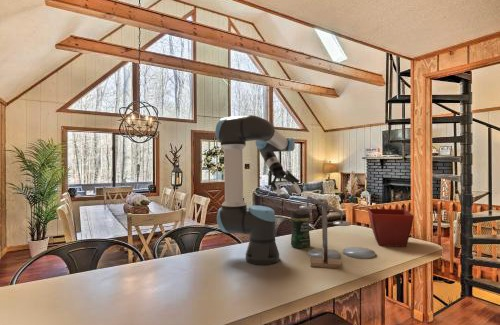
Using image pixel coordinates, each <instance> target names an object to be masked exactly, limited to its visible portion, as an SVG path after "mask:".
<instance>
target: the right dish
mask: <svg viewBox="0 0 500 325" xmlns="http://www.w3.org/2000/svg"><path fill="white" fill-rule="evenodd" d="M342 254H343V255H345V256H347V257H350V258H354V259H372V258H374V257H376V252H375V251H374V250H373V249H371V248H366V247H362V246H361V247H359V246H349V247H348V246H347V247H344V248H343V249H342Z"/></svg>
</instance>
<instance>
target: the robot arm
mask: <svg viewBox="0 0 500 325" xmlns="http://www.w3.org/2000/svg"><path fill="white" fill-rule="evenodd" d="M214 134H215V137H216V141H217V142H219V143H220V147H222V149H223V155H224V156H223V160H224V162H223V163H224V166H223V169H224V201H223V202H222V204H221V207H220V208H218V211H217V214H216V223H217V227H218V228H219V230H220V231H222V232H223V233H228V234H230V235H231V234H235V235H237V234H238V235H246V236H247V235H248V238H249V240H248V242H249V243H248V245H247V248H246V252H245V261H246V263H249V264H251V265H252V264H253V265H258V266H264V265H265V266H268V265H273V264H277V263H278V262H280V260H281V259H280V258H281V257H280V252H279V249H278V246H277V244H276V214H275V210H274V209H273V208H271V207H268V206H264V205H256V204H255V205H254V204H253V205H249V206H247V203H246V202H245V201H244V174H243V172H244V170H243V164H244V163H243V162H244V161H243V157H244V156H243V155H244V154H243V149H244V148H245V147H246V145H247V144H246V142H252V141H255V146H256V148H257V150H258V152H259V153H260V155H261V157H262V158H263V160H264V162H265V164H266V166H267V168H268V170H269V171H268V172H267V176H268V178H267V186H268V187H269V186H270V187H271V188H272V189H273V190H274V191H275V193H276V194H277V196H278V197H279V196H281V194H282V192H281V190H280V187H279V186H278V184H277V183H276V181H277V179H279V180H280V179H281V180H282V179H283V180H286V181H287V182H289V183H290V184H291V185H292V186H293V188H294V189H295V191H296V193H297V195H300V194H301V192H302V190H301V188H300V184H299V183H300V180H299V179H298V178H297V177H296V176H295V175H293V174H292V173H291V172H290V170H288V169H287V170H286V171H285V170H284V167H283V166H282V164H281V162H280V160H279V159H278V157H277V155H276V152H278V153H279V152H287V153H288V152H293V151H294V150H295V145H296V142H295V139H294V138H293V137H288V138H287V137H285V136H284V135H283V134H282V133H280V131H278V130H277V129H275V126H274V124H273V123H272V122H270V121H268V120H266V118H263V117H261V116H258V115H257V116H256V115H251V114H248V115H235V116H226V117H222V118H219V120H218V121H217V124H216V125H215V132H214ZM273 177H274V178H273ZM247 207H248V208H247Z"/></svg>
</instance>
